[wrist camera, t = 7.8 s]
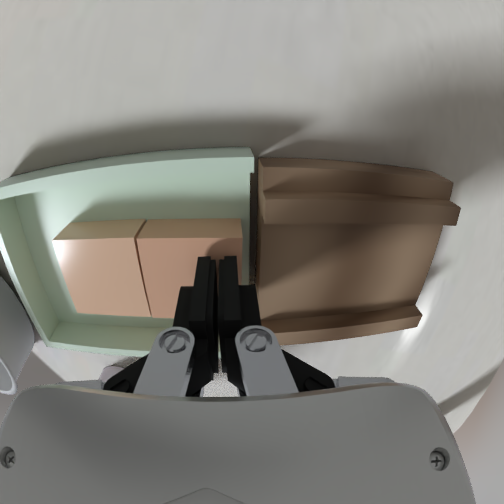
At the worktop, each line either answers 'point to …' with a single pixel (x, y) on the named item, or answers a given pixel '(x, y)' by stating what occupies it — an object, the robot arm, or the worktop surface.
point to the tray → (111, 208)
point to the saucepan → (12, 338)
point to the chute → (345, 246)
